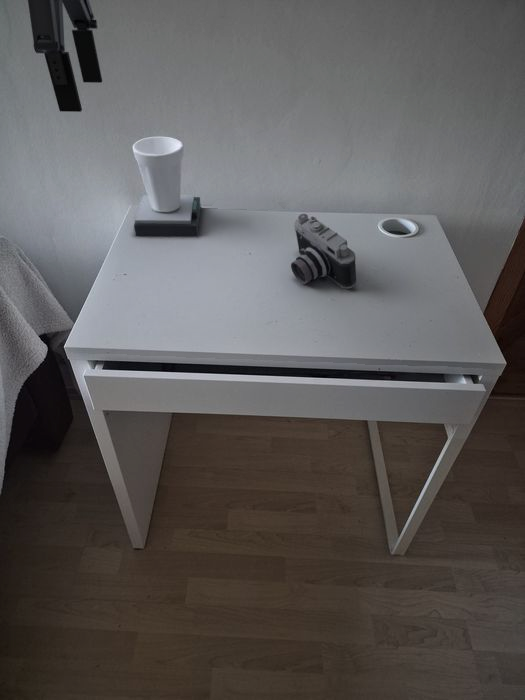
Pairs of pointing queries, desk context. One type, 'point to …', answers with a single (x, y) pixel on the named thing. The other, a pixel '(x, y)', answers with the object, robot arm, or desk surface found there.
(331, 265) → the camera
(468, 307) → the desk surface
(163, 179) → the cup
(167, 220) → the scale
